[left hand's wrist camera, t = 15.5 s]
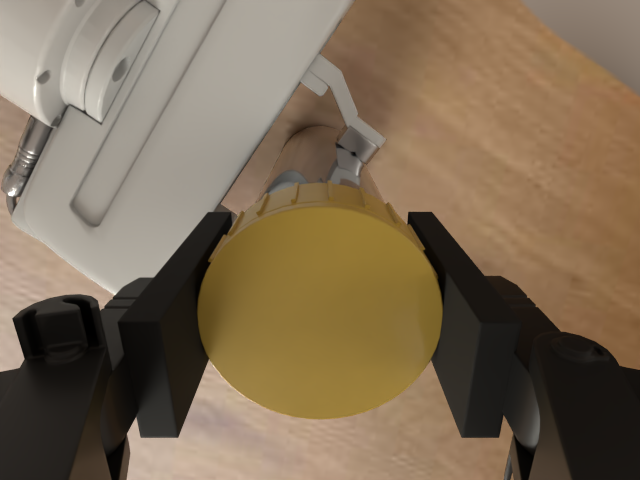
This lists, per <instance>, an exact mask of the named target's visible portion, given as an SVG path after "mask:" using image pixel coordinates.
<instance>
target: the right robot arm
mask: <svg viewBox="0 0 640 480" xmlns="http://www.w3.org/2000/svg"><path fill="white" fill-rule="evenodd" d="M354 1H355V0H0V95H1V96H3V97H4V98H6V99H7V100H9V101H10V102H12V103H14V104H15V105H17V106H18V107H20V108H21V109H23V110H24V111H26V112H27V113H29V114H31V116H30V118H29V121H28V123H27V125H26V128H25V130H24V132H23V134H22V137H21V139H20V142H19V146H18V150H17V153H16V156H15V159H14V160H13V162H12V164H11V165H9V167H8V168H7V170H6V171H5V174H4V176H3V179H2V184H1V189H2V191H3V192H4V193H5V194H7V196H6V202H7V207H8V210H9V212H10V214H11V220H12V222H13V223H14V224H15V225H16V226H17V227H18V228H19V229H21V230H22V231H23V232H25V233H27V234H29V235H30V236H32V237H34V238H36V239H37V240H39V241H41V242H43V243H44V244H45V245H46V246H48V247H49V248H50V249H51V250H52V251H54V252H55V253H56V254H57V255H59V256H60V257H61V258H62V259H64V260H65V261H66V262H67V263H69V264H70V265H71V266H73V267H74V268H76V269H77V270H78V271H80V272H81V273H82V274H84V275H85V276H86V277H88V278H89V279H91V280H92V281H94V282H95V283H97V284H98V285H100V286H101V287H103V288H104V289H106V290H107V291H109V292H110V293H112V294H113V295H116V294H117V292H118V291H119V290H120V289H121V288H122V287H123V286H125V285H127V284H129V283H130V282H132V281H134V280H136V279H138V278H139V277H155V275H156V274H157V273H158V272H159V271H160V269H161V268H162V267H163V266H164V265H165V263H166V262H167V261H168V260H169V259H170V257H171V256H172V255H173V254H174V252H175V251H176V250H177V249H178V248H179V246H180V245H181V244H182V243H183V242H184V240H185V239H186V238H187V237H188V236H189V234H190V233H191V232H192V231H193V229H194V228H195V227H196V226H197V225H198V223H199V222H200V221H201V220H202V219H203V217H204V216H205V215H206V214H207V212H231V215H232V225H233V223H234V222H235V220H236V218H237V215H236V214H235V213H233V212H232V211H230V210H229V209H227V208H226V207H224V206H223V205H221V204H220V203H221V202H222V200H223V199H224V197H225V196H226V194H227V193H228V191H229V190H230V188H231V187H232V185H233V184H234V182H235V181H236V179H237V178H238V176H239V175H240V173H241V172H242V170H243V169H244V167H245V166H246V164H247V163H248V161H249V160H250V158H251V157H252V155H253V154H254V152H255V151H256V149H257V148H258V146H259V145H260V143H261V142H262V140H263V139H264V137H265V136H266V134H267V133H268V131H269V130H270V128H271V127H272V125H273V124H274V122H275V121H276V119H277V118H278V116H279V114H280V113H281V111H282V110H283V108H284V107H285V105H286V104H287V102H288V101H289V99H290V98H291V96H292V95H293V93H294V92H295V90H296V89H297V87H298V86H299V84H300V83H302V84H304V85H305V86H306V87H308V88H309V89H310V90H312V91H313V92H314V93H316V94H317V95H318V96H323V95H324V93H325V92H326V90H327V89H328V87H327V85H328V86H330V89H331V91H332V94H333V96H334V98H335V101H336V103H337V106H338V108H339V110H340V113H341V115H342V118H343V120H344V123H345V126H344V128H343V129H342V130H341V132H340V133H339V135H338V136H337V138H336V139H337V143H338V144H339V145H340V146H342V147H343V148H344V149H346V150H348V151H350V152H355V155H356V156H357V157H358V158H359V159H360V160H361V161H362V162H363V163H365V164H368V163H369V161H370V160H371V159H372V158H373V156H374V155H375V154H376V152H377V151H378V150H379V149H380V147H381V146H382V145H383V143H384V142H385V141H386V140H387V139H386V138H385V137H384V136H382V135H381V134H380V133H379V132H378V131H376V130H375V129H374V128H372V127H371V126H370V125H369V124H367V123H366V122H365V121H363V120H362V119H361V118H359V117H358V116H357V115H358V112H357V109H356V107H355V104H354V102H353V99H352V97H351V94H350V92H349V89H348V87H347V84H346V82H345V79H344V77H343V74H342V72H341V70H340V69H338V68H337V67H336V66H335V65H333V64H332V63H331V62H330V61H328V60H327V59H326V58H325V57H323V56H322V55H321V54H320V53H321V51H322V50H323V48H324V47H325V45H326V44H327V42H328V41H329V39H330V38H331V36H332V35H333V33H334V32H335V30H336V29H337V27H338V26H339V24H340V23H341V21H342V20H343V18H344V17H345V15H346V14H347V12H348V11H349V9H350V7H351V6H352V4H353V3H354ZM17 197H20V199H19V201H18V203H17V202H16V198H17Z"/></svg>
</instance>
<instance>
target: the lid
mask: <svg viewBox="0 0 640 480" xmlns="http://www.w3.org/2000/svg"><path fill="white" fill-rule="evenodd" d="M423 250H425V248H424V246H423V245H422V243H421V241H420V240H419V238H418V236H417V235H416V233H415V232H414V230H413V228H412V227H411V225H410V224H408V225H406V224H405V222H404V221H403V220H402V219H401V218H400V217H399V215H398V214H397V213H396V212H395V211H394V209H393V207H392V205H391V204H390V203H389V202H388V203H387V204H385V203H384V202H382V201H380V200H379V199H377V198H376V197H374V196H372V195H370V194H368V193H366V192H365V191H364V188H361V187H360V188H359V190H358V189H355V188H352V187H349V186H345V185H339V184H333V183H332V181H329V180H328V182H327V183H309V184H301V185H299V182H297V183H295V184H294V186H292V187H288V188H285V189H282V190H279V191H277V192H274V193H272V194H270V195H269V194H268V193H266V194H264V196H263V198H262V199H261V200H260V201H258V202H257V203H255V204H254V205H253V206H251V207H250V208H249V209H248V210H247V211H246V212H245V213H244V212H243V211H241V212H240V213H239V215H238V217H237V218H236V220H235V222H234V223H233V225H232V227H231V229H230V230H229V232H228V235H227V236H226V235H223V237H222V238H221V240H220V242H219V243H218V245H217V247H216V248H215V250H214V252H213V253H212V255H211V257H210V258H209V260H208V261H209V262H211V264H210V266H209V267H208V269H207V271H206V273H205V276H204V278H203V281H202V283H201V287H200V291H199V296H198V303H197V318H198V327H199V333H200V338H201V341H202V344H203V346H204V349H205V352H206V354H207V356H208V357H209V359H210V361H211V363H212V365H213V366H214V367H215V369H216V370H217V371H218V373H219V374H220V375H221V377H222V378H223V379H224V380H225V381H226V382H227V383H228V384H229V385H230V386H231V387H232V388H234V389H235V390H236V391H237V392H239V393H240V394H241V395H242V396H244V397H246V398H247V399H249V400H250V401H252V402H254V403H256V404H258V405H260V406H262V407H264V408H266V409H269V410H271V411H274V412H277V413H280V414H284V415H288V416H292V417H298V418H306V419H335V418H342V417H348V416H353V415H356V414H360V413H363V412H366V411H369V410H371V409H374V408H376V407H379V406H381V405H382V404H384V403H386V402H388V401H390V400H392V399H393V398H395V397H396V396H397V395H399V394H400V393H402V392H403V391H404V390H405V389H406V388H408V387H409V386H410V385H411V384H412V383H413V382H414V381H415V380H416V379H417V378H418V377H419V375H420V374H421V373H422V372H423V371H424V369H425V368H426V366H427V365H428V363H429V362H430V360H431V358H432V356H433V354H434V352H435V350H436V347H437V344H438V341H439V338H440V332H441V324H442V315H443V301H442V294H441V290H440V286H439V283H438V280H437V279H438V275H437V273H436V272H435V270H434V268H433V267H432V265H431V263H430V261H429V260H428V258H427V256H426V255H425V253H424V251H423Z"/></svg>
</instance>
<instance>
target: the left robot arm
mask: <svg viewBox="0 0 640 480" xmlns="http://www.w3.org/2000/svg"><path fill="white" fill-rule="evenodd" d="M408 224H410V225H411V227H412V228H413V230H414V232H415V233H416V235H417V236H418V238H419V240H420V241H421V243H422V245H423V246H424V248H425V250H423V251H424V253H425V255H426V256H427V258H428V260H429V261H430V263H431V265H432V267H433V268H434V270H435V272H436V273H437V275H438V279H437V280H438V283H439V286H440V290H441V294H442V301H443V315H442V324H441V332H440V338H439V341H438V344H437V347H436V350H435V352H434V354H433V356H432V358H431V361H432V363H433V366H434V368H435V371H436V374H437V376H438V379H439V381H440V384H441V386H442V389H443V391H444V394H445V396H446V399H447V402H448V404H449V407H450V409H451V412H452V414H453V417H454V419H455V422H456V425H457V427H458V430H459V432H460V435H461V437H462V438H499V435H500V430H501V425H502V420H503V415H504V416H505V418H506V420H507V421H508V423H509V425H510V427H511V429H512V431H513V437H512V442H511V446H510V451H509V455H508V460H507V465H506V469H505V475H504V480H510V479H511V475H512V473H513V478H514V480H640V370H637V369H632V368H626V367H622V366H619V364H618V362H617V361H616V359H615V358H614V356H613V355H612V354H611V353H610V352H609V351H608V350H607V349H606V348H604V347H603V346H601V345H599V344H598V343H596V342H595V341H592V340H590V339H587V338H585V337H582V336H580V335H575V334H571V333H567V332H561V331H560V330H559V329H558V328H557V327H556V326H555V325H554V324H553V323H552V322H551V321H550V320H549V319H548V317H547V316H546V315H545V314H544V313H543V312H542V311H541V310H540V309H539V308H538V307H536V305H535V304H534V303H533V302H532V301H531V299H530V298H527V295H526V294H525V293H524V292H523V291H522V290H521V289H520V288H519V287H518V286H517V285H516V284H514V283H512V282H510V281H509V280H507V279H505V278H503V277H501V276H484V275H483V273H482V272H481V271H480V270H479V269H478V267H477V266H476V265H475V264H474V263H473V261H472V260H471V259H470V258H469V256H468V255H467V254H466V253H465V252H464V250H463V249H462V248H461V247H460V246H459V244H458V243H457V242H456V241H455V240H454V238H453V237H452V236H451V235H450V233H449V232H448V231H447V230H446V229H445V227H444V226H443V225H442V224H441V223H440V221H439V220H438V219H437V218H436V216H435V215H434V214H433V213H432V212H408ZM408 224H407V225H408ZM231 227H232V215H231V212H207V214H206V215H205V216H204V217H203V219H202V220H201V221H200V222H199V223H198V225H197V226H196V227H195V228H194V229H193V231H192V232H191V233H190V234H189V236H188V237H187V238H186V239H185V240H184V242H183V243H182V244H181V245H180V246H179V248H178V249H177V250H176V251H175V252H174V254H173V255H172V256H171V257H170V259H169V260H168V261H167V262H166V263H165V265H164V266H163V267H162V268H161V269H160V271H159V272H158V273H157V274H156V275H155V277H139V278H138V279H136V280H134V281H132V282H130V283H129V284H127V285H125V286H123V287H122V288H121V289H120V290H119V291H118V292H117V294H116V295H115V296H114V297H113V300H110V301H109V302H108V303H107V304H106V305H105V306H104V307H105V308H104V309H102V310H101V311H100V309H99V304H98V301H97V300H96V299H95V298H93V297H92V296H87V295H81V294H77V295H63V296H58V297H53V298H49V299H46V300H43V301H40V302H37V303H34V304H32V305H31V306H29V307H27V308H25V309H23V310H21V311H20V312H19V313H18V314H17V315H16V316H15V317H14V318H12V319H13V322H14V326H15V329H16V332H17V335H18V339H19V342H20V345H21V348H22V352H23V355H24V358H25V360H24V361H23V363H22V365H21V367H20V368H18V369H14V370H8V371H3V372H0V480H126V479H127V472H128V465H129V458H130V448H129V442H128V437H127V432H128V431H129V429H130V427H131V425H132V423H133V421H134V420H135V418H136V417H137V422H138V427H139V431H140V436H141V438H178V437H179V434H180V431H181V429H182V426H183V424H184V421H185V419H186V416H187V414H188V411H189V408H190V406H191V403H192V401H193V398H194V396H195V393H196V391H197V388H198V386H199V383H200V380H201V378H202V375H203V373H204V370H205V368H206V365H207V363H208V360H209V357H208V356H207V354H206V352H205V349H204V346H203V344H202V341H201V338H200V333H199V327H198V318H197V303H198V296H199V291H200V287H201V283H202V281H203V278H204V276H205V273H206V271H207V269H208V267H209V266H210V264H211V262H209V261H208V260H209V258H210V257H211V255H212V253H213V252H214V250H215V248H216V247H217V245H218V243H219V242H220V240H221V238H222V237H223V235H226V236H227V235H228V232H229V230H230V229H231Z"/></svg>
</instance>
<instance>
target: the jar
mask: <svg viewBox="0 0 640 480" xmlns="http://www.w3.org/2000/svg"><path fill="white" fill-rule="evenodd" d="M340 132H341V131H339V130H337V129H334V128H331V127H328V126H313V127H309V128H305V129H303V130H301V131H299V132H298V133H296V134H295V135H294V136H292V137H291V138H290V139H289V140H288V142H287V143H286V144H285V146H284V148H283V150H282V152H281V154H280V156H279V158H278V160H277V162H276V164H275V166H274V167H273V169H272V171H271V173H270V175H269V177H268V179H267V181H266V183H265V185H264V187H263V189H262V191H261V193H260V195H259V197H258V199H257V201H256V203H257V202H258V201H260V200H261V199H262V198H263V196H264V194H266V193H268V194H269V195H270V194H272V193H274V192H277V191H279V190H282V189H285V188H288V187H292V186H294V184H295V183H297V182H299V185H301V184H309V183H327V182H328V180H329V181H332V183H333V184H339V185H345V186H349V187H352V188H355V189H358V190H359V188H360V187H361V188H364V191H365V192H366V193H368V194H370V195H372V196H374V197H376V198H377V199H379V200H380V201H382V202H384V200H383V198H382V196H381V194H380V192H379V191H378V189H377V187H376V185H375V183H374V181H373V179H372V177H371V175H370V173H369V171H368V169H367V167H366V165H365V163H363V162H362V161H361V160H360V159H359V158H358V157H357V156H356V155H355V152H350V151H348V150H346V149H344V148H343V147H342V146H340V145H339V144H338V143H337V139H336V138H337V136H338V135H339V133H340ZM384 203H385V202H384Z"/></svg>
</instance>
